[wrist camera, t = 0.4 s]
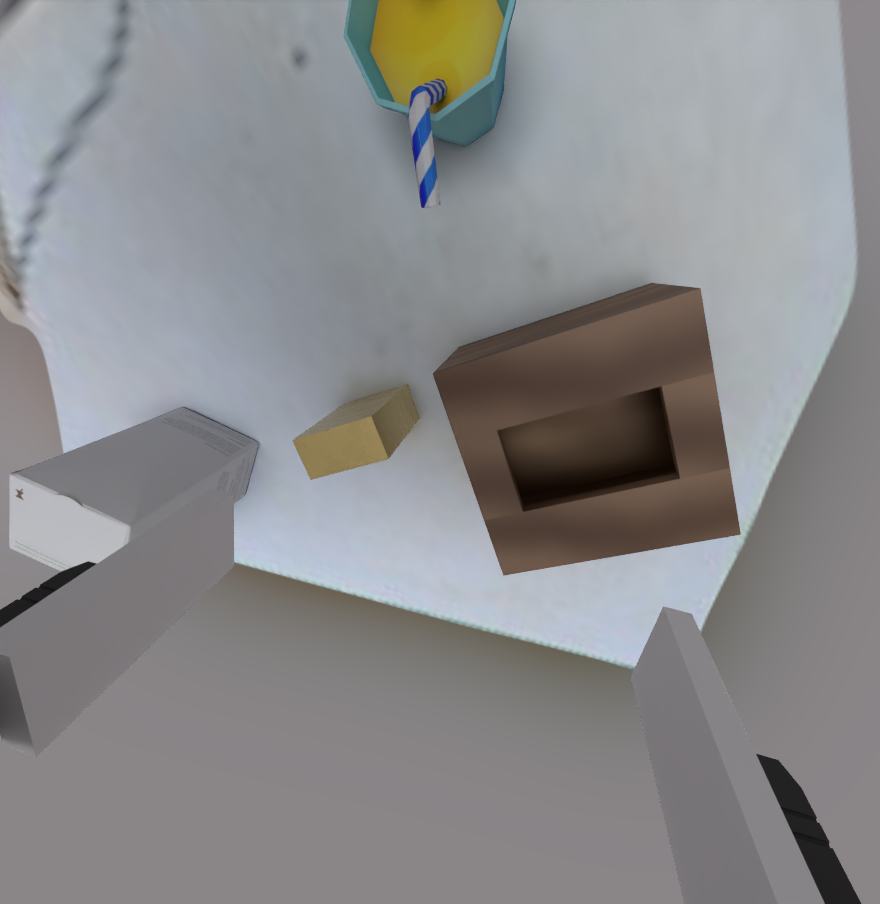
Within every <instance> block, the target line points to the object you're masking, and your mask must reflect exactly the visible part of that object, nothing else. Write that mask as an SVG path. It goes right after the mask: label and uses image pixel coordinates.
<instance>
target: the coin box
mask: <svg viewBox="0 0 880 904" xmlns="http://www.w3.org/2000/svg"><path fill="white" fill-rule="evenodd" d="M433 376H434V379H435V382H436V384H437V387H438V390H439V393H440V396H441V399H442V402H443V404H444V407H445V410H446V413H447V416H448V419H449V421H450V424H451V427H452V430H453V433H454V436H455V439H456V441H457V444H458V447H459V450H460V453H461V456H462V458H463V461H464V464H465V467H466V470H467V473H468V476H469V478H470V481H471V484H472V487H473V490H474V493H475V495H476V498H477V501H478V504H479V507H480V510H481V513H482V515H483V518H484V521H485V524H486V527H487V530H488V532H489V535H490V538H491V541H492V544H493V547H494V550H495V552H496V555H497V558H498V561H499V564H500V567H501V569H502V572H503V575H509V574H515V573H521V572H526V571H532V570H538V569H544V568H550V567H555V566H561V565H567V564H573V563H578V562H584V561H590V560H596V559H602V558H607V557H613V556H619V555H625V554H630V553H636V552H642V551H648V550H654V549H659V548H665V547H671V546H677V545H682V544H688V543H694V542H700V541H706V540H711V539H717V538H723V537H729V536H734V535H740V528H739V522H738V515H737V509H736V503H735V497H734V491H733V485H732V479H731V473H730V467H729V461H728V454H727V448H726V442H725V436H724V430H723V424H722V418H721V412H720V406H719V400H718V393H717V387H716V381H715V375H714V369H713V363H712V357H711V351H710V345H709V339H708V332H707V326H706V320H705V314H704V308H703V302H702V296H701V290H700V288H693V287H683V286H674V285H665V284H656V283H651V284H648V285H645V286H642V287H639V288H636V289H633V290H630V291H627V292H624V293H621V294H618V295H615V296H612V297H608V298H605V299H602V300H599V301H596V302H593V303H590V304H587V305H584V306H581V307H578V308H575V309H572V310H569V311H566V312H563V313H560V314H557V315H554V316H551V317H548V318H545V319H542V320H539V321H536V322H533V323H530V324H527V325H524V326H521V327H518V328H515V329H512V330H509V331H506V332H503V333H500V334H497V335H494V336H491V337H488V338H485V339H482V340H479V341H476V342H473V343H470V344H467V345H464V346H461V347H459V348H458V349H457V350H456V351H455V352H454V353H453V354H452V355H451V356H450V357H449V358H448V359H447V360H446V361H445V362H444V363H443V364H442V365H441V366H440V367H439V368H438V369H437V370H436V371H435V372H434V373H433Z"/></svg>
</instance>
